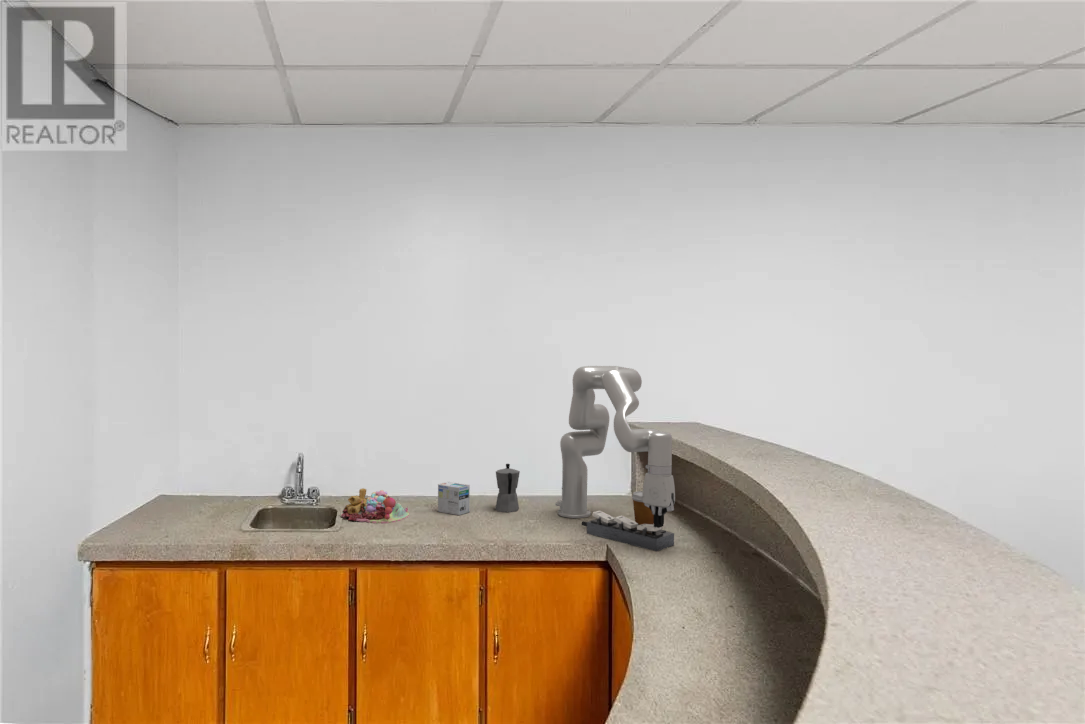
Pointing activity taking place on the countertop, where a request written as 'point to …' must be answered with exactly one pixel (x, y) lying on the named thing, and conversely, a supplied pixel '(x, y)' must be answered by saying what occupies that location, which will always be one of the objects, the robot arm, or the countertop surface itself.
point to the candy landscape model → (374, 508)
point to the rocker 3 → (648, 527)
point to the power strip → (630, 535)
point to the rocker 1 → (603, 516)
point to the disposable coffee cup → (641, 510)
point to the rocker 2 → (626, 522)
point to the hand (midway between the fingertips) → (658, 526)
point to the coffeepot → (507, 489)
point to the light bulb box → (453, 498)
